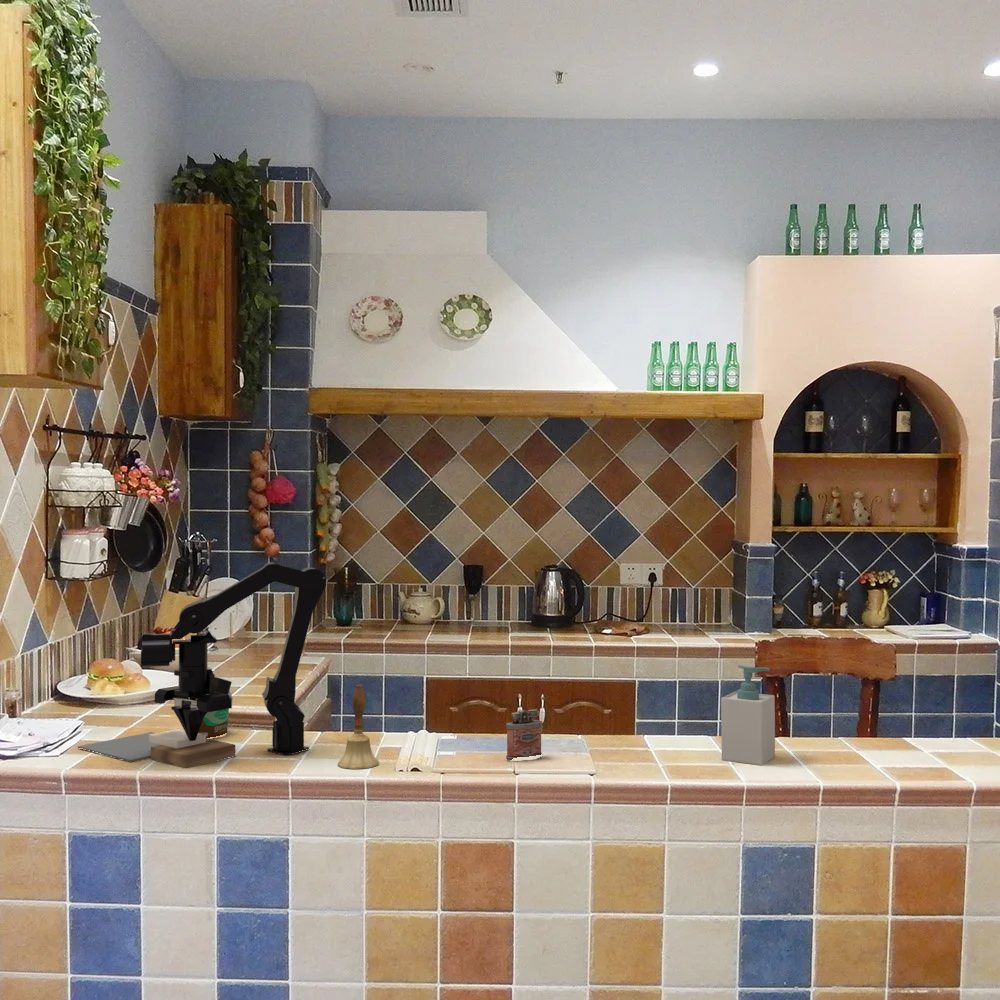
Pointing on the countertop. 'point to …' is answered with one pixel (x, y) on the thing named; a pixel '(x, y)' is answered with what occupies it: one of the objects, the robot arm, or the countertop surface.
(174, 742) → the tile
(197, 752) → the wooden block
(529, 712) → the lighter
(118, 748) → the mat
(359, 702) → the hand bell
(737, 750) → the soap bottle
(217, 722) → the food container
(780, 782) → the countertop surface
